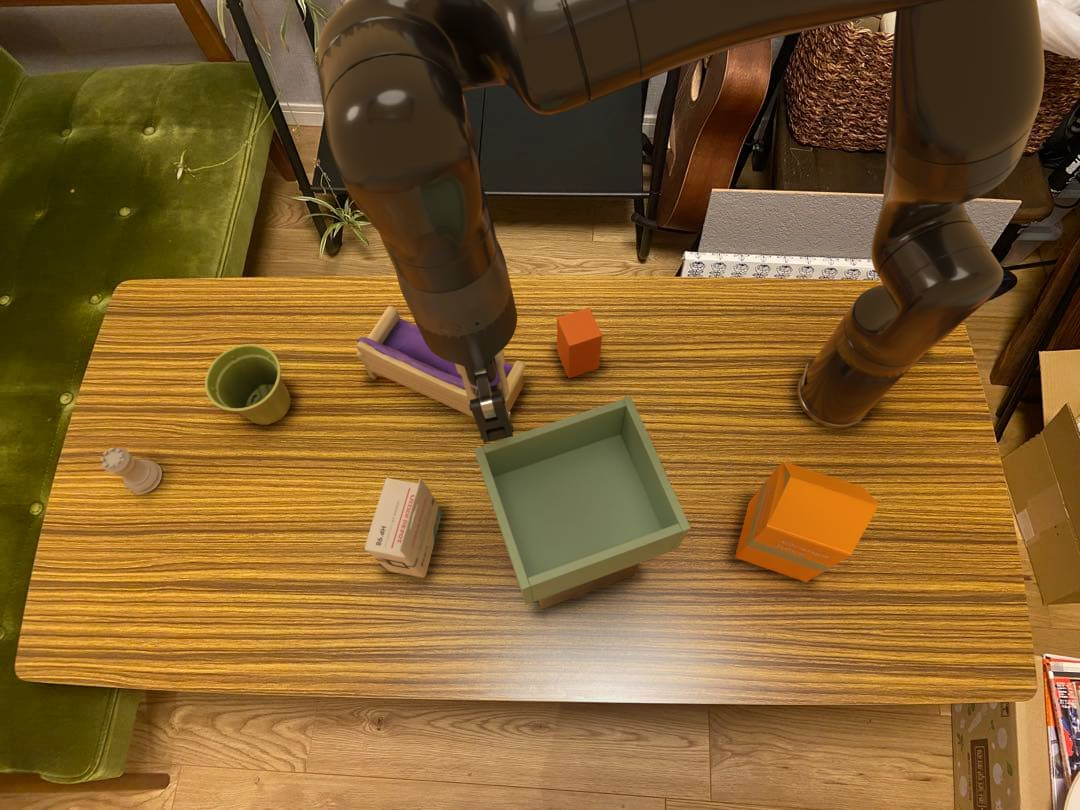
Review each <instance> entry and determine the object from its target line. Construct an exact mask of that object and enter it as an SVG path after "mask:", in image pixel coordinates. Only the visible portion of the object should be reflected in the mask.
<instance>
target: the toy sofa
mask: <svg viewBox="0 0 1080 810" xmlns="http://www.w3.org/2000/svg"><path fill="white" fill-rule="evenodd" d="M356 342H357V343H356V345H355V348H356V350H357V352H356V357H357V359H358V360H360V361H361V362H362V365H364V369H366V372H367V373H368V376H369V378H370V379H372V380H374V381H375V380H377V378H379V377H384V378H385V379H387V380H390V381H393V382H394V383H396V384H399V385H402V386H404V387H405V388H408V389H411V390H412V391H415V392H417V393H419V394H421V395H424V396H426V397H428V398H430V399H433V400H434V401H437V402H439V403H442V404H443V405H445V406H448V407H450V408H452V409H454V410H457V411H459V412H461V413H463V414H464V415H467V416H469V417H471V418H474V416H473V413H472V411H470V408H469V405H470V403H469V401H468V397H467V394H466V390H465V387H464V383H463V379H462V376H461V375H460V374H458V372H457V369H456V366H455V363H452V362H449V361H446V360H444V359H442V358H440V357H438V356H437V355H435V354H434V353H433V352H432V351H431V350H430V349H429V348H428V346H427V345H426V343H425V341H424V339H423V337H422V335H421V333H420V331H419V329H418V327H417V324H416V323H415V324H414V323H412V322H410V321H407V320H405V319H404V318H401V316H400V314H399V311H398V309H397V308H395V307H394V306H393V305H388V306H387V307H386V309H385V310H384V312H383V313H382V314H381V316H380V318H379V319H378V321H377V323H376V324H375V325H374V326H373V328H372V330H371V331H370V333H369V334H368V336H367V337H365V336H361V337H359V338H358V339H357V341H356ZM503 366H504V370H505V374H506V379H507V383H508V388H509V395H508V397H506V398H505V400H506V404H507V408H508V410H510V411H511V410H512V408H513V406H514V405H515V403H516V401H517V399H518V397H519V395H520V394H521V391H522V390H523V388H524V385H525V381H524V373H525V371H526V369H527V364H526V362H524V361H522V360H516V361H515V362H514V364H511V363H509V362H506V361H505V363H504V365H503ZM496 367H497V366H496ZM499 382H500V378H499V374H498V370H497V375H496V379H495V381H494V382H492V383H490V382H489V383H490V386H494V385H497V384H499ZM472 386H473V385H472ZM473 387H474V388H475V389H478V387H477V386H473Z"/></svg>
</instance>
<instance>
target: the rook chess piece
mask: <svg viewBox="0 0 1080 810" xmlns="http://www.w3.org/2000/svg"><path fill="white" fill-rule="evenodd" d="M108 448H109V450H108V451H107V450H104V452H103V453H102V455H103V457H100V462H101V465H102V469H103V470H104V471H106V472H107V473H111V474H114V475H116V476H121V477H122V479H123V483H124V485H125V487H126V488H127V489H129V490H130V491H132V492H133V493H134V494H139V495H143V494H149V493H150V492H151V491H154V489H156V488H157V487H158V485H159V484H160V483H161V480H162V477H163V473H162V472H163V471H162V468H161V467H160V465H159V464H158V463H156V462H154V461H152V460H151V459H150V460H149V459H144V458H142V459H141V458H140V459H136V458H134V456H133V455H132V454H130V453H129V451H128V450H127V449H125V448H124V447H108Z"/></svg>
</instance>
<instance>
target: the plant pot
mask: <svg viewBox="0 0 1080 810" xmlns="http://www.w3.org/2000/svg"><path fill="white" fill-rule="evenodd" d="M204 388H205V393H206V395H207V398H208V399H209V400H210V401H211V403H212V404H214V405H215V406H216V407H218V408H219V409H222V410H224V411H227V412H234V413H235V412H236V413H238V414H239V415H240V416H242V417H244V418H246V419H247V420H249V421H251V422H253V423H255V424H256V425H262V426H267V425H271V424H272V423H275V422H278V421H280V420H282V419H283V418H284V417H285V415H287V413H288V411H289V410H290V407H291V402H292V401H291V396H290V393H289V390H288V389H287V387H286V384H285V382H284V380H283V378H282V367H281V364H280V361H279V359H278V357H277V355H276V354H275V353H274V352H273V351H272V350H270V349H269V348H267V347H266V346H263V345H260V344H254V343H247V344H245V343H244V344H240V345H236V346H233V347H231V348H228V349H227V350H225V351H224V352H222V353H221V354H219V355H218V356H217V357H216V358H215V359H214V360H213V362H212V363H211V365H210V366H209V368H208V370H207V372H206V375H205V379H204ZM254 397H255V398H254ZM253 398H254V399H253ZM252 400H253V401H252Z"/></svg>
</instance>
